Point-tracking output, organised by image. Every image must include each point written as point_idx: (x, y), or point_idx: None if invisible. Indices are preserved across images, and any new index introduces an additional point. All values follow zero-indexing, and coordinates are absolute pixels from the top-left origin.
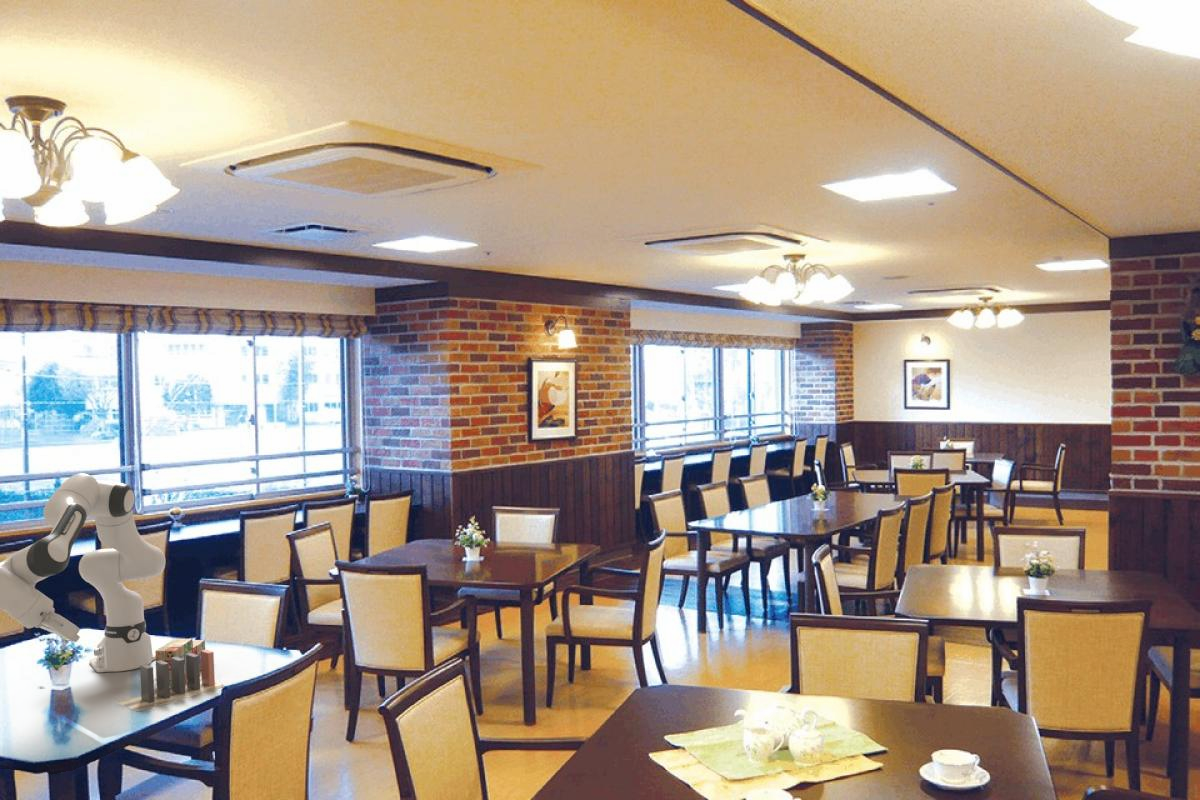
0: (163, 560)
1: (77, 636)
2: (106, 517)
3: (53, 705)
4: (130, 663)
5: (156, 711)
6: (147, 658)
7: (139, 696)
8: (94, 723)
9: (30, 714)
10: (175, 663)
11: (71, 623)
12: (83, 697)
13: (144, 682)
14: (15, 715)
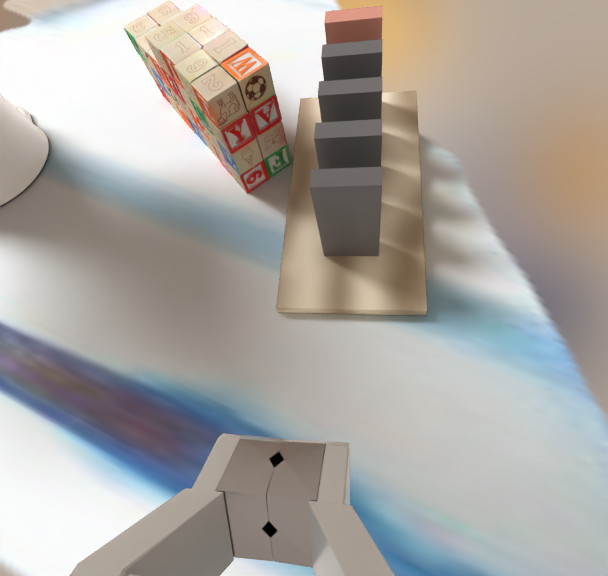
0: None
1: (346, 472)
2: None
3: (83, 428)
4: (23, 162)
5: (435, 264)
6: (31, 125)
7: (288, 248)
8: (385, 433)
9: (88, 524)
10: (355, 105)
11: None
12: (107, 337)
13: (349, 222)
14: (46, 564)
